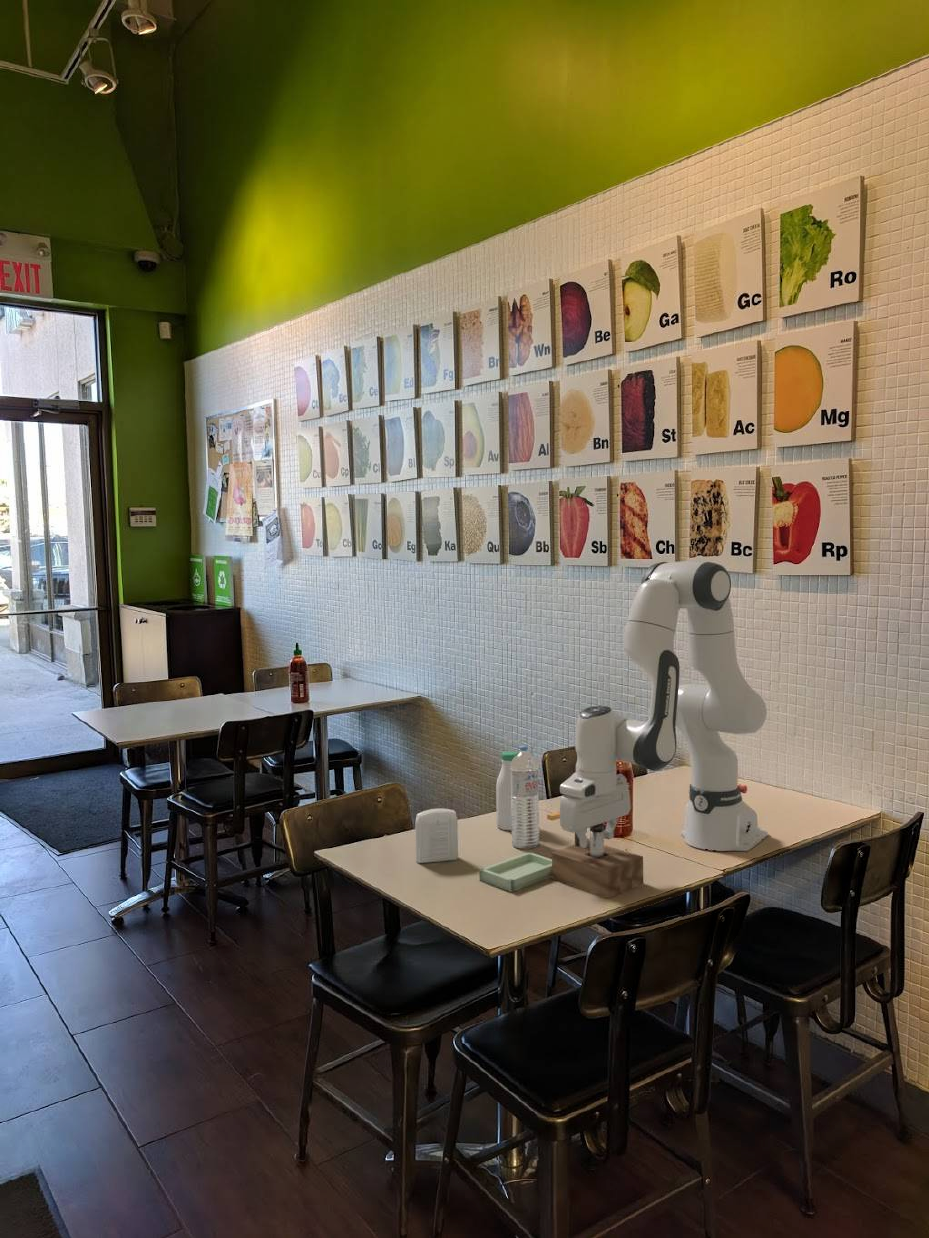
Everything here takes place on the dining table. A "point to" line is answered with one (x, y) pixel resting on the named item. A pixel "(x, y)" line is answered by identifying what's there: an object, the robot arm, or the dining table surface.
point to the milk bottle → (504, 792)
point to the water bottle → (524, 800)
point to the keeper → (553, 816)
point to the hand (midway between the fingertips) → (596, 842)
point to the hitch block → (597, 869)
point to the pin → (597, 841)
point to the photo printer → (436, 835)
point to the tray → (517, 872)
